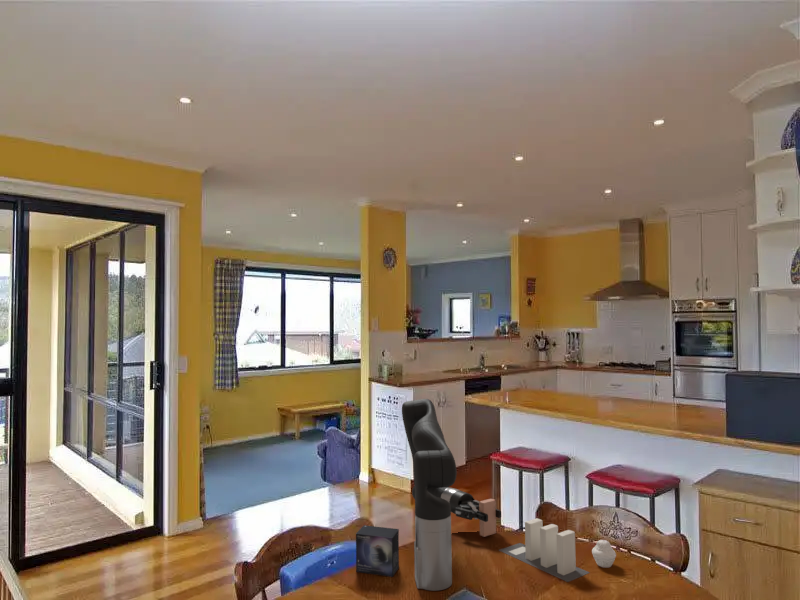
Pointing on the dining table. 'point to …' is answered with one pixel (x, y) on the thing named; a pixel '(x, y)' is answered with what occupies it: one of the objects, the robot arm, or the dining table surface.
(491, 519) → the terracotta domino
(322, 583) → the dining table surface
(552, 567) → the domino mat
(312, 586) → the dining table surface
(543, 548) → the ivory domino
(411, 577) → the dining table surface
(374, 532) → the small box
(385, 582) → the dining table surface
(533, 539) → the ivory domino
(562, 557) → the ivory domino
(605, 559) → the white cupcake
